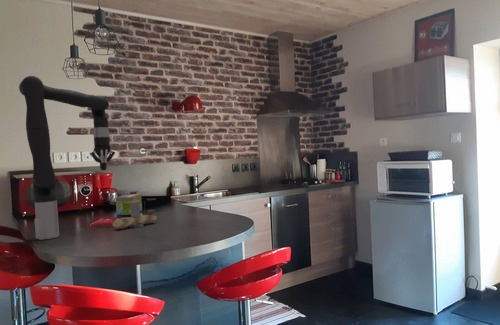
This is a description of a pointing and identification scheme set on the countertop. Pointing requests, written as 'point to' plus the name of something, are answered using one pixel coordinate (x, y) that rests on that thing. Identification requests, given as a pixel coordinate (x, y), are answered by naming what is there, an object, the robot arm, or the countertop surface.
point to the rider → (135, 209)
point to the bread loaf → (136, 220)
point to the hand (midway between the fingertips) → (103, 170)
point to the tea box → (126, 205)
